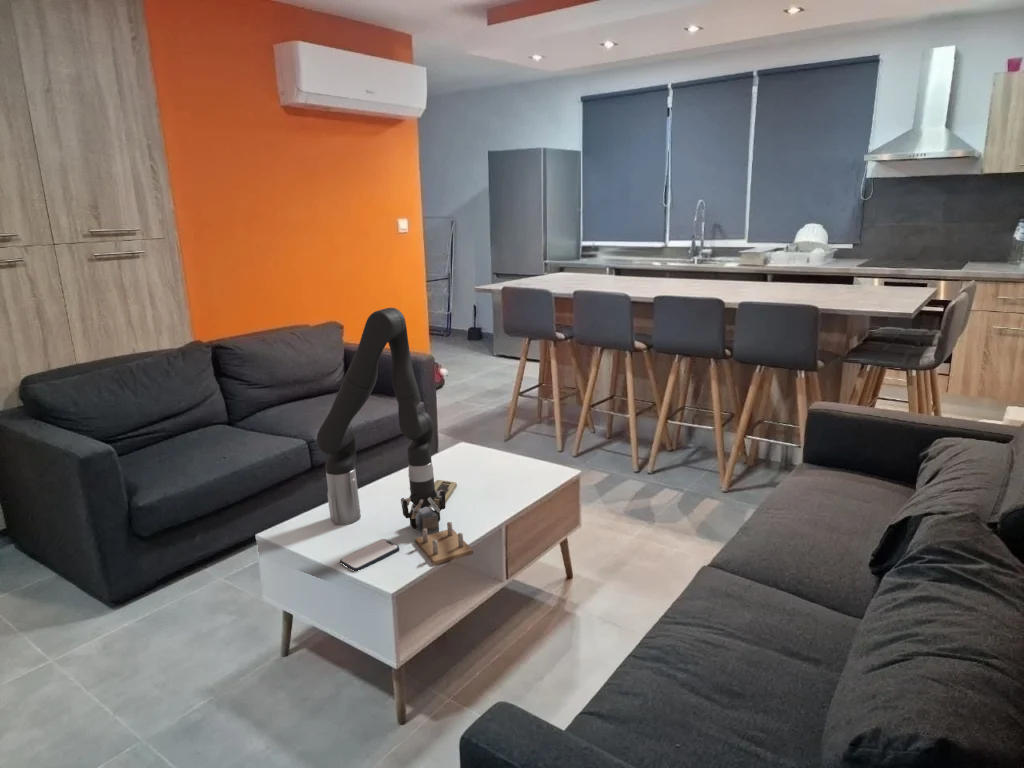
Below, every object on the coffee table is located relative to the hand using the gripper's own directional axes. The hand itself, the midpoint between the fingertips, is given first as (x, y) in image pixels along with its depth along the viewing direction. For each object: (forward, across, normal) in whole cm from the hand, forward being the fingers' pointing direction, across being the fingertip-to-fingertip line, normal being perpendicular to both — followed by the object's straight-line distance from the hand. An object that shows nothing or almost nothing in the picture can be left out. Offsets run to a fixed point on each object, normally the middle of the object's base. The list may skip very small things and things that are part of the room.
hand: (425, 525), depth 210 cm
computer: (+2, +13, +21) cm, 25 cm away
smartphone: (+2, -20, -8) cm, 22 cm away
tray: (+1, 0, -15) cm, 15 cm away
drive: (+1, 0, 0) cm, 1 cm away
